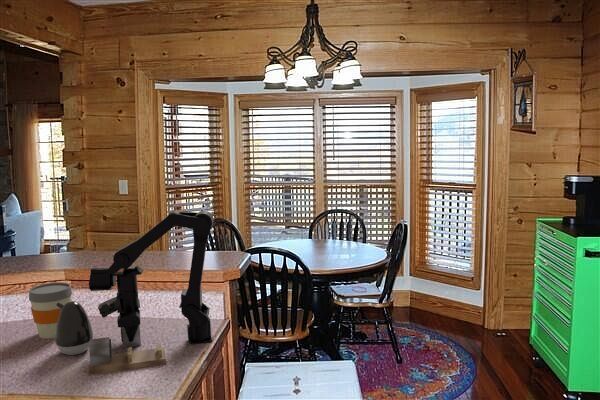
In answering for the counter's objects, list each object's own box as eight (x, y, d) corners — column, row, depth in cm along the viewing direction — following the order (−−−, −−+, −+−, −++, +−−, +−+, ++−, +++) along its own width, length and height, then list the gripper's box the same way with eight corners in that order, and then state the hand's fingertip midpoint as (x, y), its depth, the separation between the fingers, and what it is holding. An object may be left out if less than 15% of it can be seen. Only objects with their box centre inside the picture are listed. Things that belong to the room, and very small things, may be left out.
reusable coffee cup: (83, 330, 175) (79, 285, 173) (47, 343, 164) (43, 296, 162) (60, 323, 182) (56, 280, 180) (24, 336, 171) (19, 290, 169)
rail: (164, 352, 156) (162, 327, 155) (166, 363, 148) (164, 337, 147) (90, 362, 150) (88, 337, 149) (88, 375, 143) (86, 348, 142)
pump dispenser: (73, 342, 165) (69, 294, 163) (101, 346, 161) (97, 297, 159) (48, 356, 155) (43, 305, 153) (77, 360, 152) (72, 308, 150)
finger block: (140, 340, 165) (139, 321, 165) (140, 345, 162) (139, 325, 161) (122, 342, 164) (120, 323, 163) (121, 347, 160) (120, 328, 159)
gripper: (100, 283, 167) (104, 331, 169) (96, 301, 149) (101, 355, 151) (138, 279, 170) (141, 326, 172) (138, 297, 152) (142, 349, 155)
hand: (131, 338), depth 163 cm, fingers closed on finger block, 4 cm apart
